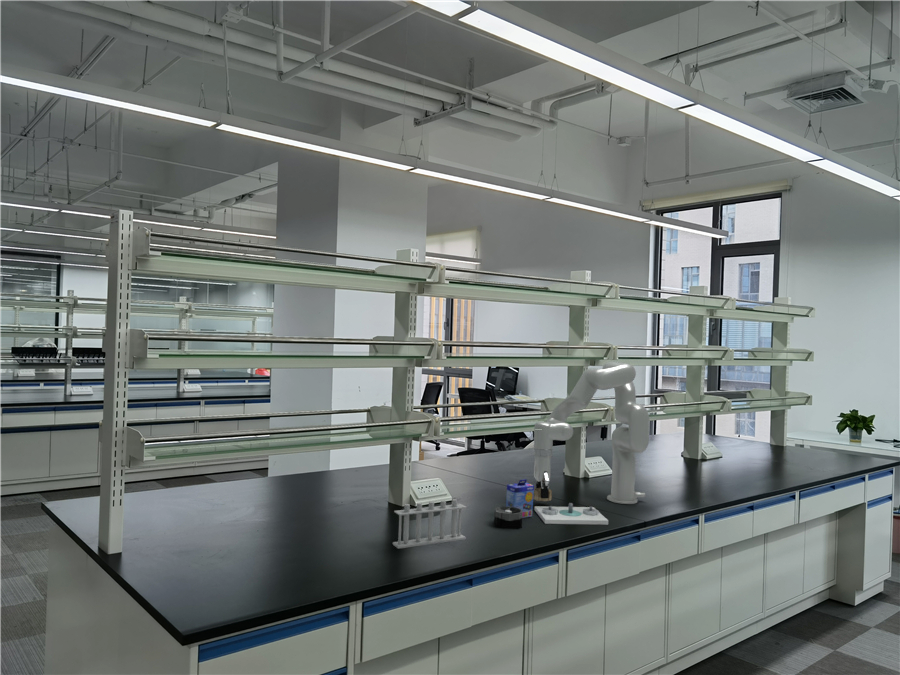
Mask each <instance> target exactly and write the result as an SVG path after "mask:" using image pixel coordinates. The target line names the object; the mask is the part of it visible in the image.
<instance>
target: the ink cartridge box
mask: <svg viewBox="0 0 900 675" xmlns="http://www.w3.org/2000/svg"><path fill="white" fill-rule="evenodd" d="M527 481H528V479H527V478H524V479H519V481H518V482H517V483H511V484H510V483H509V484H506V499H505V500H506V501H505V506H511V507H516V508H519V509H521V510H522V515H523V518H522V519H525V518H530V517H533V510H534V509H533V508H534V499H533V496H534V488H535V485H534V484H532V483H528V482H527Z"/></svg>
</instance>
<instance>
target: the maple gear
mask: <svg viewBox="0 0 900 675" xmlns="http://www.w3.org/2000/svg"><path fill="white" fill-rule="evenodd" d="M552 493H553V492H552V489H550V488H549V498H541V488H536V487H534V496H533V500H535V501H537V502H548V501H550V502H551V500H552V499H553V497H552V496H553V494H552Z"/></svg>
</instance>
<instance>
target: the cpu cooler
mask: <svg viewBox="0 0 900 675" xmlns="http://www.w3.org/2000/svg"><path fill="white" fill-rule="evenodd" d="M523 519H524V518H523V515H522V510H521V509H519V508H516V507H511V506H506V505H505V506H498V507H495V509H494V519H493V520H494V524H495V527H496V528H501V529H521V528H523Z"/></svg>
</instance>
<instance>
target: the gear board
mask: <svg viewBox="0 0 900 675" xmlns="http://www.w3.org/2000/svg"><path fill="white" fill-rule="evenodd" d="M534 512H536V514H537V515H538V517H539V518H540V519H541V520H542V522H543V523H544V524H546V525H547V524H548V525H551V524H553V525H607V526H608V525H609V519H608V518H606V517H605V516H604V515H603V514H602V513H601V512H600V511H599V510H598V509H596V507H593V506H591V505H590V506H589V507H588V506H587V507H586V506H574V504H573V503H572V502H569V503H568V506H552V505H549V506H545V505H543V506H541V505H540V506H537V505H536V506H534Z"/></svg>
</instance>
